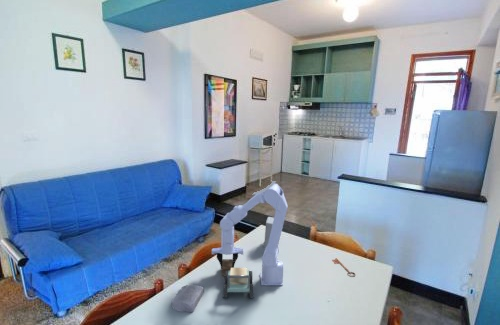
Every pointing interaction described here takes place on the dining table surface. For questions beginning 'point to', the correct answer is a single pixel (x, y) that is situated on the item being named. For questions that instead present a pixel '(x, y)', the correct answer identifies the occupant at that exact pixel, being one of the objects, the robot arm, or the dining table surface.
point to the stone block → (187, 298)
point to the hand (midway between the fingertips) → (227, 267)
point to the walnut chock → (226, 265)
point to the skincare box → (268, 230)
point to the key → (343, 266)
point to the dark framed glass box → (238, 281)
